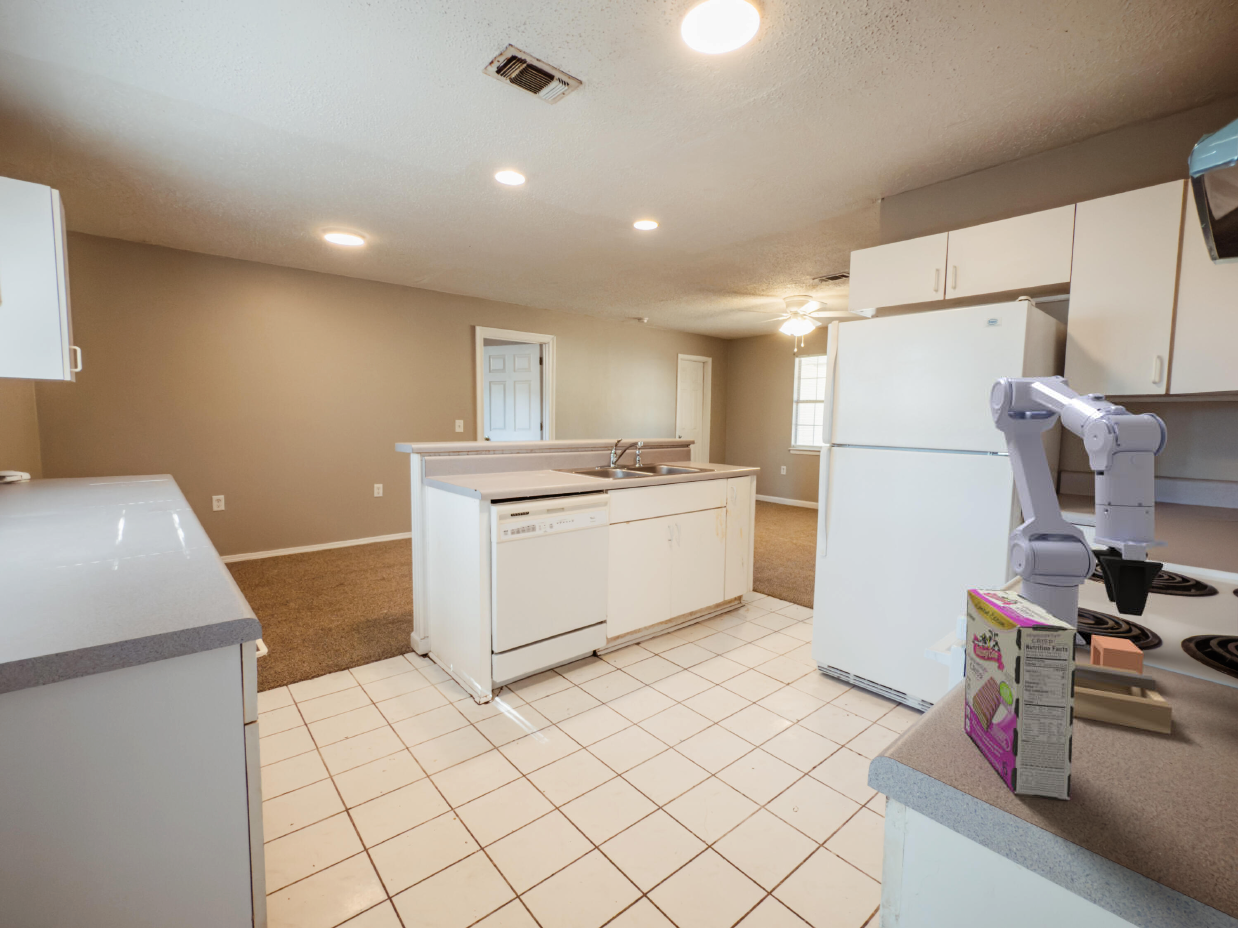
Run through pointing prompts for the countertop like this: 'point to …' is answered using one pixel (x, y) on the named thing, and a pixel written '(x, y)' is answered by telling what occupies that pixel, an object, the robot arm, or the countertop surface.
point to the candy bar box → (1020, 691)
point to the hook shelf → (1119, 698)
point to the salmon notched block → (1116, 653)
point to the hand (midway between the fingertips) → (1124, 608)
